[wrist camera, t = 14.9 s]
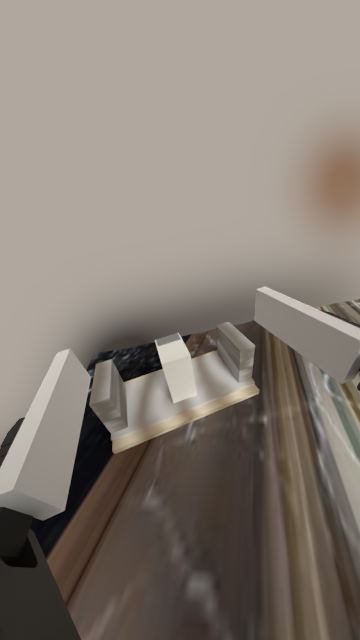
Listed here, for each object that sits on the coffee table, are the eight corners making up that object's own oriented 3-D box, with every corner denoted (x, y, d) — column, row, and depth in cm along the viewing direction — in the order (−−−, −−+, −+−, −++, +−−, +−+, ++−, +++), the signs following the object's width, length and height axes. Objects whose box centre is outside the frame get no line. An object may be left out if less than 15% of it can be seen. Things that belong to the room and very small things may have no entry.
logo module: (185, 369, 40) (178, 331, 34) (197, 394, 34) (190, 353, 28) (165, 376, 39) (154, 338, 33) (173, 403, 33) (161, 363, 27)
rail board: (223, 350, 46) (222, 316, 40) (258, 393, 34) (264, 354, 29) (116, 388, 41) (97, 356, 35) (114, 454, 29) (86, 421, 24)
